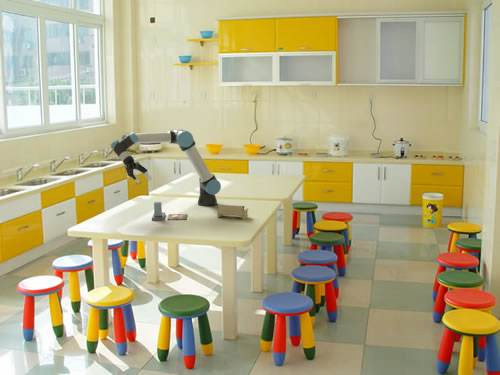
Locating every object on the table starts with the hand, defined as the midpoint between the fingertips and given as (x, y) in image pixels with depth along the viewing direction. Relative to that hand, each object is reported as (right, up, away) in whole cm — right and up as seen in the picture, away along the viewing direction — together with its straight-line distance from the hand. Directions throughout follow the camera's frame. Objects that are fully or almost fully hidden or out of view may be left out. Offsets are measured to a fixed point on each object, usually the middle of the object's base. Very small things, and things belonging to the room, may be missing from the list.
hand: (144, 181), depth 456 cm
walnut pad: (+23, -26, 0) cm, 35 cm away
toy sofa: (+62, -26, 0) cm, 67 cm away
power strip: (+10, -27, -1) cm, 29 cm away
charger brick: (+10, -26, -4) cm, 29 cm away
